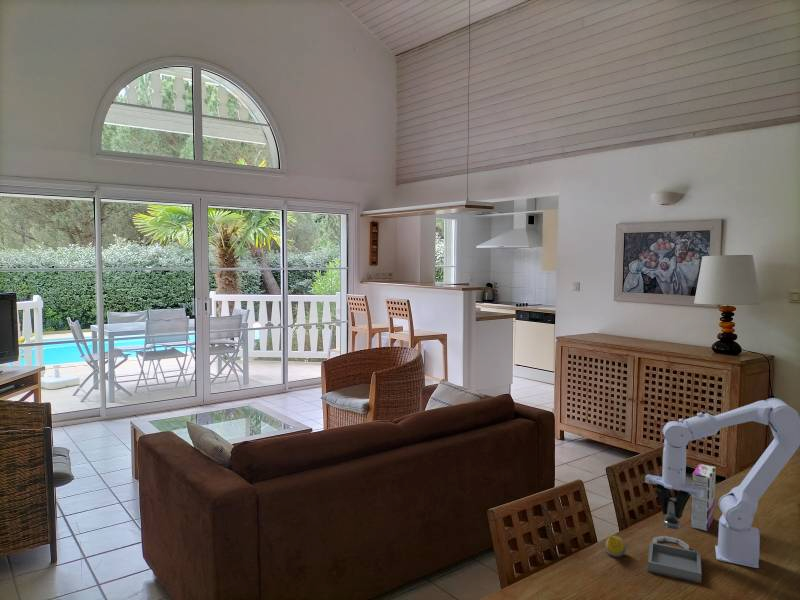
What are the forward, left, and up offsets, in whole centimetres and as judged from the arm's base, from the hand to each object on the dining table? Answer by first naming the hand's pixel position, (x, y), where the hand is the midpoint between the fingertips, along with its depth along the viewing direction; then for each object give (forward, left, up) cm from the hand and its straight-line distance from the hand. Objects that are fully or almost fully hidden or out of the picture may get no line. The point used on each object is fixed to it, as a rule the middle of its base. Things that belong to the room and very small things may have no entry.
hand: (672, 515), depth 157 cm
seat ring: (0, 0, -9) cm, 9 cm away
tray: (-1, +11, -9) cm, 14 cm away
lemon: (+13, +12, -9) cm, 20 cm away
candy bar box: (-8, -21, -9) cm, 25 cm away
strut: (0, 0, -3) cm, 3 cm away
